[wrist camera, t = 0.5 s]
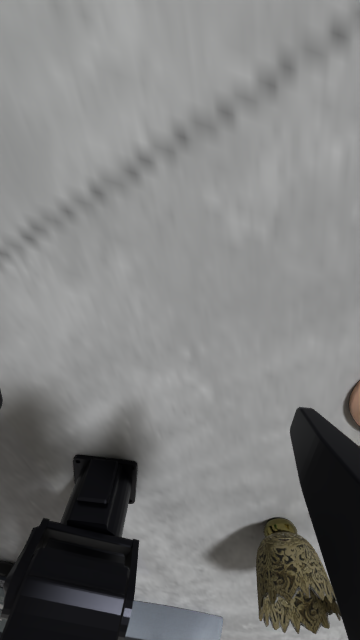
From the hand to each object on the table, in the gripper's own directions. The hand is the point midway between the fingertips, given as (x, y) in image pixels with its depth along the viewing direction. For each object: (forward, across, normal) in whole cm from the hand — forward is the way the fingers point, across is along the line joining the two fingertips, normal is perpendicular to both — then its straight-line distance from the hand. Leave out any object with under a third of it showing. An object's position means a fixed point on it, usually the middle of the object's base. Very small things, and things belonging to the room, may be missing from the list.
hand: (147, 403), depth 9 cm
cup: (+14, -14, +29) cm, 35 cm away
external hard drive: (+15, -2, +58) cm, 60 cm away
